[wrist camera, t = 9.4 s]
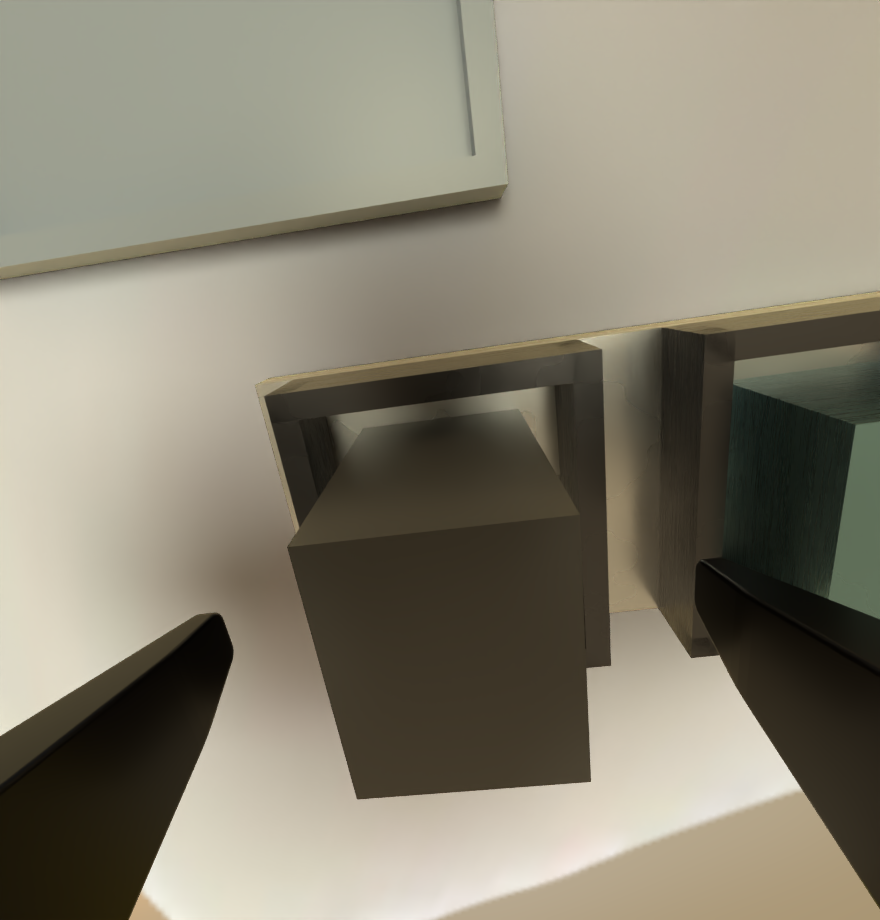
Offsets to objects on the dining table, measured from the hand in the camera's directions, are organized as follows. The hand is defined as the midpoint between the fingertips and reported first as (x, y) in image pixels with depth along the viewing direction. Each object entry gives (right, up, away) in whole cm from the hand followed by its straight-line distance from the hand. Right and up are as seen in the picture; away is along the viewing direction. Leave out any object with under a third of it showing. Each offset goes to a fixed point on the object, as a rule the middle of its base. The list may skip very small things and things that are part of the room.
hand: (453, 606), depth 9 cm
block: (0, +2, +4) cm, 4 cm away
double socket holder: (+5, +2, +5) cm, 7 cm away
